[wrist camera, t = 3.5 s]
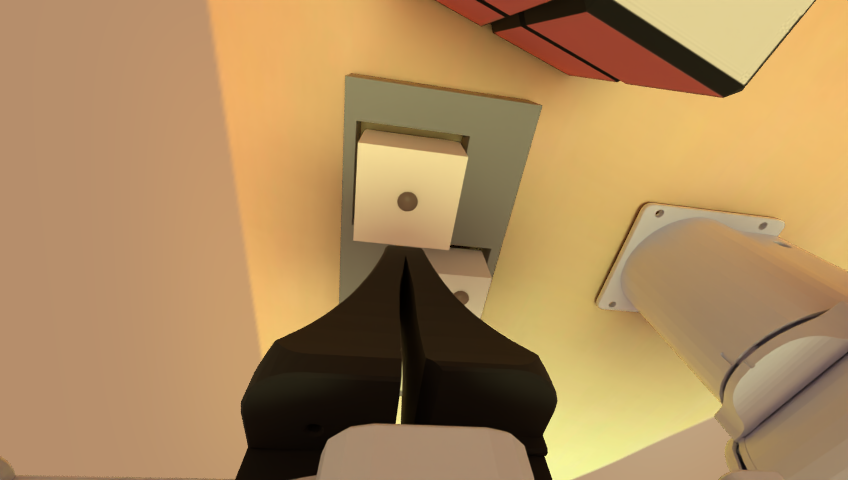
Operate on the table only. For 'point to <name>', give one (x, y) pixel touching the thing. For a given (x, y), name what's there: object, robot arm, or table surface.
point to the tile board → (482, 141)
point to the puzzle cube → (646, 37)
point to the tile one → (407, 189)
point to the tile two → (463, 275)
